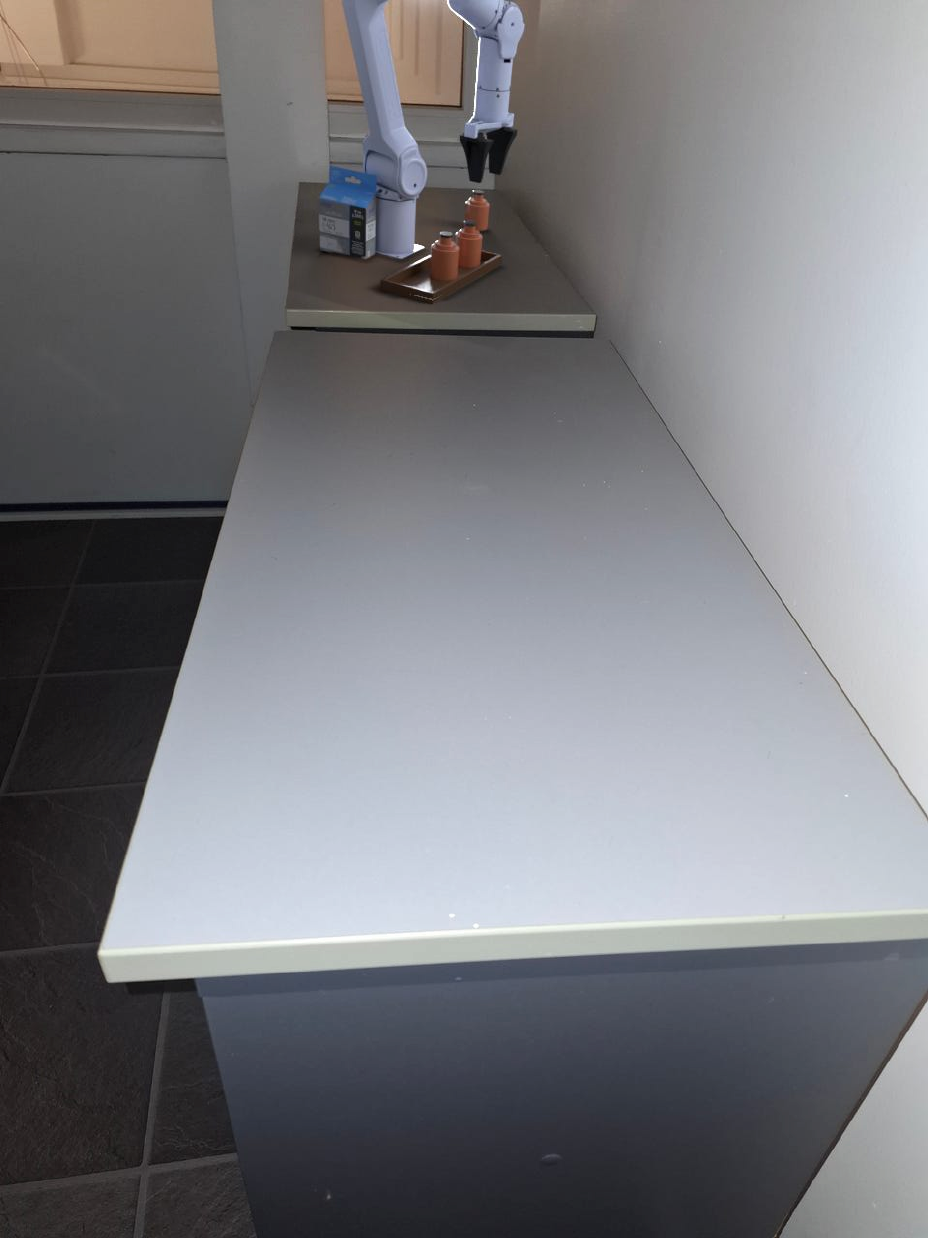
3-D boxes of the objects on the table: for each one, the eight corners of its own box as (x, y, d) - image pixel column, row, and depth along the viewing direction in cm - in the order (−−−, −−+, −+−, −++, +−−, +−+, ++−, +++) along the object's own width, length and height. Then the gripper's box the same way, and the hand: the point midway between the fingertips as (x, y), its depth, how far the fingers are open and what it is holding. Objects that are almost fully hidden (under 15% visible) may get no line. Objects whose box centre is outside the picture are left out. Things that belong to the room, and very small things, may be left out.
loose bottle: (459, 229, 158) (462, 191, 153) (470, 224, 161) (473, 186, 157) (480, 234, 156) (483, 196, 152) (491, 229, 159) (494, 191, 155)
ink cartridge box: (318, 250, 142) (315, 169, 134) (330, 244, 145) (328, 164, 137) (365, 261, 140) (365, 179, 132) (376, 255, 143) (377, 174, 135)
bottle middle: (424, 276, 136) (426, 233, 131) (438, 269, 139) (440, 227, 134) (449, 283, 134) (451, 239, 130) (462, 275, 137) (465, 233, 133)
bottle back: (449, 263, 141) (451, 222, 137) (461, 257, 144) (464, 216, 140) (472, 269, 140) (476, 227, 135) (484, 262, 143) (488, 221, 139)
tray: (432, 307, 127) (433, 293, 126) (380, 292, 130) (380, 279, 129) (501, 267, 143) (502, 254, 142) (453, 254, 146) (453, 242, 145)
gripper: (494, 97, 136) (486, 189, 144) (533, 86, 146) (523, 174, 154) (455, 89, 138) (450, 181, 147) (496, 80, 148) (488, 166, 157)
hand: (485, 177), depth 151 cm, fingers open, 7 cm apart
